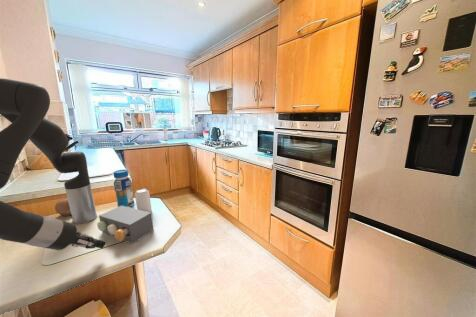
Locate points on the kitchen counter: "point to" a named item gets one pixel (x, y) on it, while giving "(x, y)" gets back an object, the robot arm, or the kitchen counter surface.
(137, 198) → the can
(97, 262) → the kitchen counter surface
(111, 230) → the button cream
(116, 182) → the beverage bottle
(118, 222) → the control box
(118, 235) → the button orange
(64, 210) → the onion
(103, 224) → the button green
